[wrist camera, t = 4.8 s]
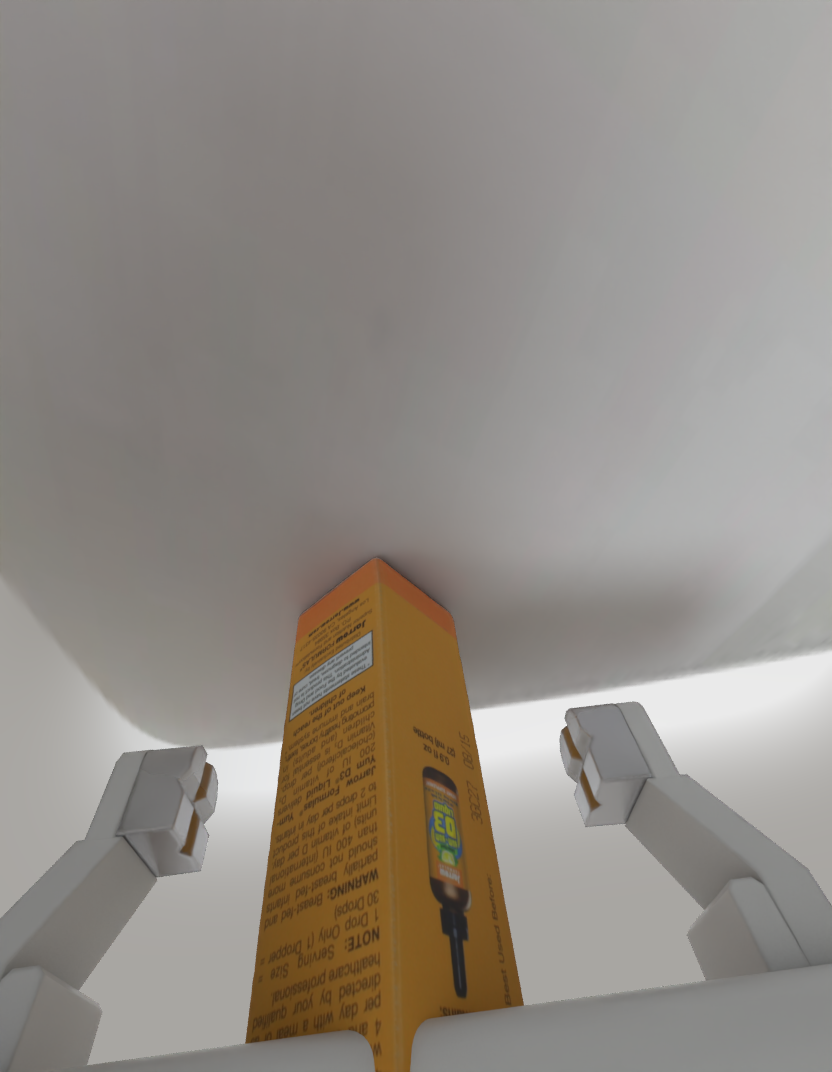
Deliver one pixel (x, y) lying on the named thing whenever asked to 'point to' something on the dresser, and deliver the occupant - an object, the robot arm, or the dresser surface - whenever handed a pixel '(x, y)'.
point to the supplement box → (379, 832)
